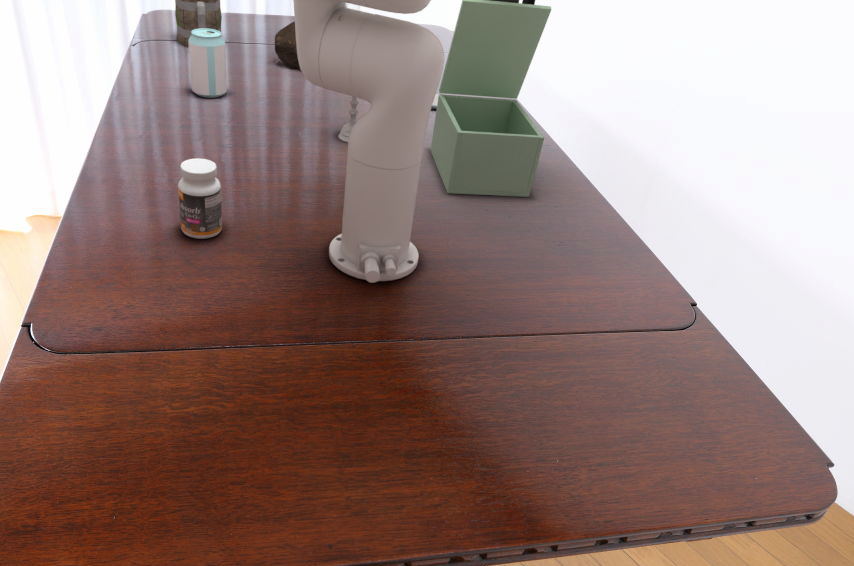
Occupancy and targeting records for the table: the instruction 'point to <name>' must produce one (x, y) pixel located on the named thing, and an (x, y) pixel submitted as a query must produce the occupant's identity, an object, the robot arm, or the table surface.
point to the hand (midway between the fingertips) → (496, 15)
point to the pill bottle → (200, 199)
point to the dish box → (485, 146)
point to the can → (208, 62)
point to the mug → (196, 17)
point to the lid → (493, 47)
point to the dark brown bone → (287, 46)
